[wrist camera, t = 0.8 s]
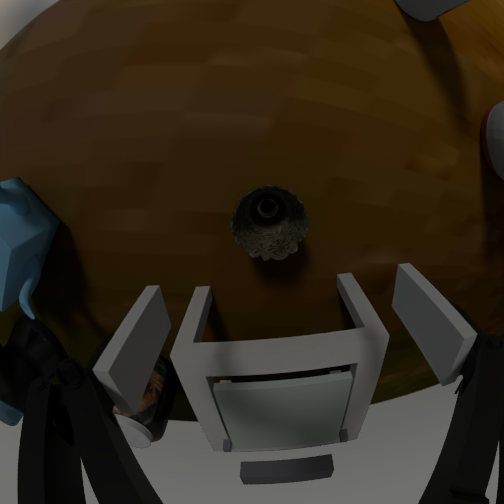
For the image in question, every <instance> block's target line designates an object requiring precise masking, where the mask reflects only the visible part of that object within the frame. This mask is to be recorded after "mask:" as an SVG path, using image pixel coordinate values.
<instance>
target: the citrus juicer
mask: <svg viewBox="0 0 504 504" xmlns="http://www.w3.org/2000/svg"><path fill="white" fill-rule="evenodd" d="M481 140H482V147H483V152H484V155H485V158H486V160H487V162H488V164H489V166H490V168H491V169H492V170H493V171H494V172H495V173H496V174H497V175H498V176H499V177H500V178H501V179H502V180H504V101H503V102H501V103H497V104H496V105H494V106H493V107H491V108H490V109H489V110H488V111H487V112H486V113H485V115H484V118H483V121H482V127H481Z"/></svg>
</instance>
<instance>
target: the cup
mask: <svg viewBox="0 0 504 504" xmlns="http://www.w3.org/2000/svg"><path fill="white" fill-rule="evenodd" d="M266 200H269V201H271V202H273V204H274V210H273V211H272V212H271V213H264V212H263V211H262V210H261V204H262V202H264V201H266ZM308 225H309V216H308V214H307V211H306V210H305V208H304V204H303V202H302V201H301V200H299V199H298V198H297V196H296V195H295V194H294V193H293V192H291V191H288V190H287V189H284V188H282V187H279V186H275V185H263V186H259V187H256V188H254V189H252V190H251V191H249V192H248V193H247V194H246V195H244V196H243V197H242V198H241V199H240V200H239V203H238V204H237V206H236V208H235V211H234V212H233V215H232V223H231V231H232V233H233V234H234V235H235V242H236V243H237V244H240V243H241V247H242V248H243V250H244V252H245V253H250V255H251V256H252V257H253V258H257V257H259V256H262V258H263V260H264V261H268V260H269V259H270V258H274V259H276V260H283V259H284V258H286V257H287V256H288V255H289V254H290V253H292V254H293V253H296V252H297V250H298V243H299V242H301V240H302V238H303V236H305V237H306V236H307V234H308V229H307V227H308Z"/></svg>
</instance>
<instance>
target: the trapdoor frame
mask: <svg viewBox="0 0 504 504" xmlns="http://www.w3.org/2000/svg"><path fill="white" fill-rule="evenodd" d="M337 288H338V290H339V292H340V294H341V296H342V298H343V300H344V303H345V305H346V307H347V309H348V311H349V313H350V315H351V317H352V319H353V321H354V323H355V326H356V328H357V329H351V330H344V331H337V332H330V333H322V334H314V335H306V336H296V337H286V338H276V339H263V340H249V341H232V342H205V343H201V340H202V336H203V332H204V328H205V325H206V321H207V317H208V313H209V310H210V306H211V302H212V299H213V298H212V293H211V288H210V286H203V287H196V289H195V291H194V294H193V296H192V299H191V301H190V304H189V307H188V309H187V312H186V314H185V317H184V319H183V322H182V325H181V327H180V330H179V333H178V335H177V338H176V341H175V343H174V346H173V349H172V351H171V354H170V357H171V360H172V362H173V365H174V367H175V370H176V372H177V374H178V377H179V379H180V382H181V384H182V386H183V389H184V391H185V393H186V395H187V398H188V400H189V402H190V404H191V406H192V408H193V411H194V413H195V415H196V417H197V419H198V421H199V423H200V425H201V427H202V429H203V431H204V433H205V435H206V437H207V439H208V441H209V443H210V445H211V446H212V448H213V450H214V451H224V452H252V451H274V450H287V449H297V448H306V447H314V446H321V445H327V444H333V443H339V442H340V443H341V442H346V441H349V440H354V439H357V437H358V435H359V432H360V430H361V427H362V424H363V422H364V419H365V416H366V414H367V411H368V408H369V405H370V402H371V399H372V396H373V393H374V390H375V387H376V384H377V381H378V377H379V374H380V371H381V367H382V363H383V360H384V356H385V352H386V348H387V344H388V340H389V334H388V332H387V331H386V329H385V327H384V326H383V324H382V322H381V321H380V319H379V317H378V315H377V314H376V312H375V311H374V309H373V307H372V306H371V304H370V302H369V301H368V299H367V297H366V296H365V294H364V293H363V291H362V289H361V288H360V286H359V285H358V283H357V282H356V280H355V279H354V277H353V275H352V274H351V273H345V274H337ZM347 364H351V365H350V371H351V374H352V377H353V379H352V384H351V388H350V393H349V397H348V401H347V405H346V409H345V413H344V417H343V421H342V424H341V428H340V432H339V435H338V439H337V440H333V441H327V442H321V443H313V444H306V445H297V446H287V447H273V448H250V449H234V446H233V444H232V441H231V439H230V436H229V433H228V431H227V428H226V426H225V423H224V420H223V417H222V415H221V412H220V409H219V406H218V403H217V400H216V398H215V395H214V392H213V388H214V381H213V377H212V376H241V375H260V374H274V373H285V372H295V371H304V370H313V369H320V368H327V367H334V366H341V365H347ZM335 373H342V372H341V370H337V371H330V374H335ZM220 383H232V381H231V380H220Z"/></svg>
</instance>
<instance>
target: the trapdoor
mask: <svg viewBox="0 0 504 504" xmlns="http://www.w3.org/2000/svg"><path fill="white" fill-rule="evenodd" d="M352 379H353V377H352V374H351V371H347V372H342V373H335V374H329V375H322V376H314V377H306V378H298V379H288V380H277V381H263V382H245V383H214V388H213V392H214V395H215V398H216V400H217V403H218V406H219V409H220V412H221V415H222V417H223V420H224V423H225V426H226V428H227V431H228V433H229V436H230V439H231V441H232V444H233V446H234V449H250V448H273V447H287V446H297V445H306V444H313V443H321V442H327V441H333V440H337V439H338V435H339V432H340V428H341V424H342V421H343V417H344V413H345V409H346V405H347V401H348V397H349V393H350V388H351V384H352ZM333 471H334V466H333V460H332V455H331V454H329V455H323V456H316V457H308V458H300V459H291V460H277V461H257V462H241V470H240V478H241V480H242V482H243V484H275V483H289V482H299V481H308V480H314V479H322V478H328V477H331V475H332V473H333Z"/></svg>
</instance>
